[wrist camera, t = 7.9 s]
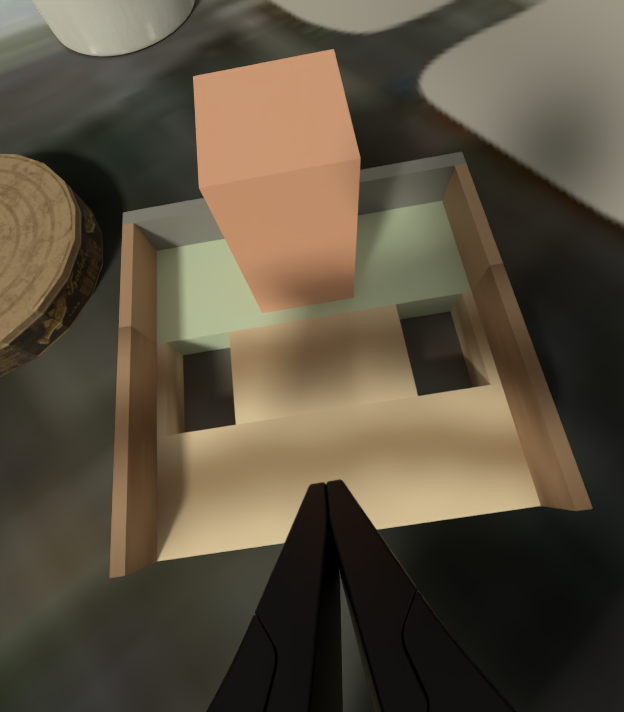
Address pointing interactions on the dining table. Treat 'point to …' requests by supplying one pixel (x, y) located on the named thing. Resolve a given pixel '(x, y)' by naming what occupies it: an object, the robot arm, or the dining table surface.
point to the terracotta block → (282, 176)
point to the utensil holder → (112, 23)
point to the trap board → (334, 426)
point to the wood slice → (42, 259)
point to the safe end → (372, 263)
